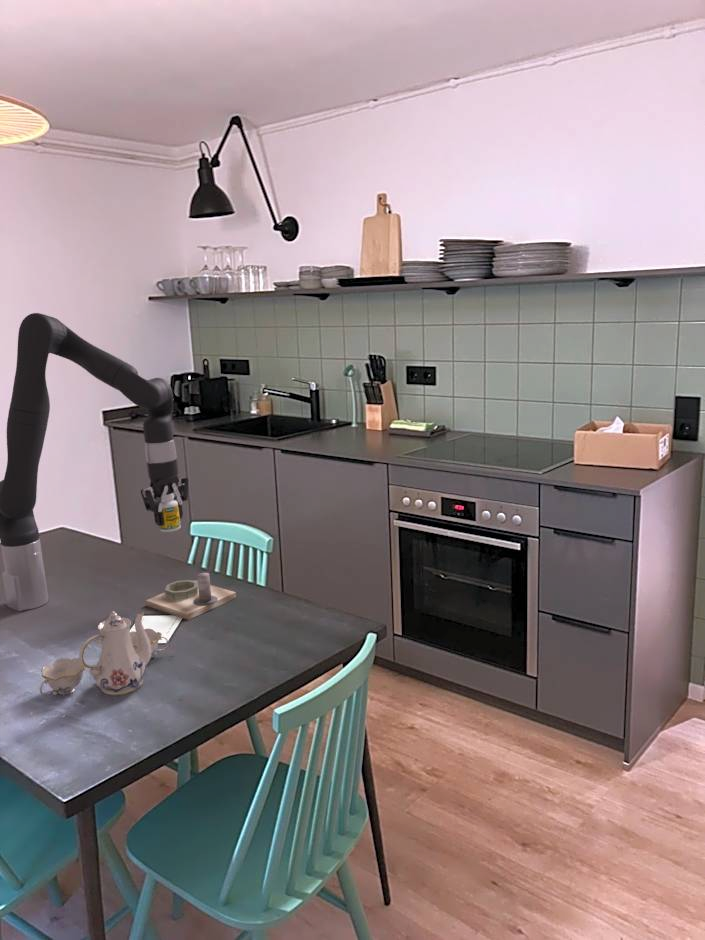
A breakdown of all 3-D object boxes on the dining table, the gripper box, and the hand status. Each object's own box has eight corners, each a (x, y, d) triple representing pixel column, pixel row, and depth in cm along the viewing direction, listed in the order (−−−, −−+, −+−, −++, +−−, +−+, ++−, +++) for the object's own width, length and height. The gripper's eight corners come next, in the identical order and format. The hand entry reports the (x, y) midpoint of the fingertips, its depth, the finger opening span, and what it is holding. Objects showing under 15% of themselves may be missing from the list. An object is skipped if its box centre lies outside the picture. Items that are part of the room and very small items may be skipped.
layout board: (189, 620, 185) (186, 587, 183) (146, 605, 195) (143, 574, 193) (237, 598, 197) (234, 567, 195) (195, 585, 207) (192, 555, 205)
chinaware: (148, 651, 174) (136, 581, 171) (195, 664, 163) (182, 590, 160) (32, 705, 153) (16, 627, 150) (77, 724, 142) (60, 640, 139)
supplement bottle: (173, 524, 201) (169, 489, 199) (185, 528, 197) (180, 492, 195) (155, 529, 197) (151, 494, 195) (167, 533, 194) (162, 497, 191)
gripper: (173, 450, 200) (180, 512, 205) (128, 463, 189) (137, 528, 193) (193, 453, 196) (200, 516, 200) (148, 466, 185) (157, 532, 189)
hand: (169, 521), depth 197 cm, fingers closed on supplement bottle, 5 cm apart
